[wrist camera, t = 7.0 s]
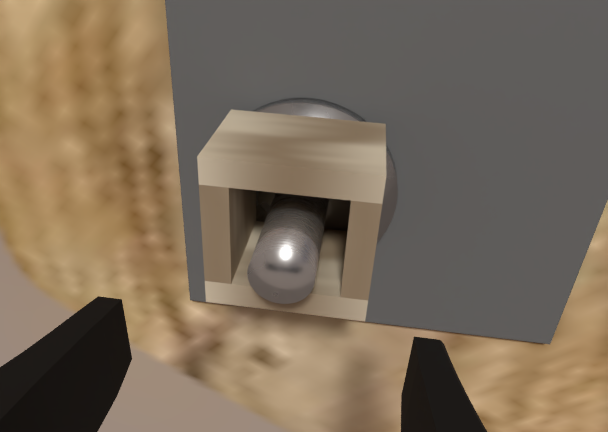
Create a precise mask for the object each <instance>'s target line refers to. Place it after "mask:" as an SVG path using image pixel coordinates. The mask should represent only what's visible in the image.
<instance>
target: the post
mask: <svg viewBox="0 0 608 432" xmlns="http://www.w3.org/2000/svg"><path fill="white" fill-rule="evenodd" d="M253 112H264V113H275V114H286V115H296V116H307V117H318V118H329V119H339V120H350V121H361V122H367V121H366V120H364V119H363V118H362V117H360V116H359V115H358V114H356V113H354V112H352V111H351V110H349V109H347V108H345V107H343V106H340V105H338V104H336V103H332V102H329V101H325V100H320V99H314V98H289V99H283V100H278V101H274V102H271V103H268V104H266V105H263V106H261V107H259V108H257V109H256V110H254V111H253ZM397 196H398V186H397V173H396V168H395V164H394V161H393V158H392V155H391V153H390V151H389V149H388V147H387V145H386V183H385V189H384V196H383V203H382V210H381V217H380V223H379V230H378V237H377V242H378V241H379V239H380V238H381V237H382V236H383V234H384V233H385V232H386V230H387V228H388V226H389V225H390V223H391V220H392V218H393V216H394V213H395V209H396V204H397ZM350 202H351V201H350V200H340V199H331V198H321V197H312V196H302V195H293V194H283V193H274V192H265V191H256V221H260V222H264V225H263V228H262V230H261V233H260V236H259V239H258V241H257V244H256V247H255V250H254V252H253V255H252V258H251V261H250V263H249V266H248V270H247V277H248V281H249V283H250V285H251V287H252V288H253V290H254V291H255V292H256V293H257V294H258V295H260V296H261V297H263V298H264V299H266V300H268V301H271V302H274V303H279V304H291V303H296V302H298V301H301V300H303V299H304V298H306V297H307V296H308V295H309V294H310V293H311V291H312V289H313V287H314V283H315V277H316V272H317V266H318V260H319V255H320V249H321V243H322V238H323V232H324V229H333V230H342V231H347V229H348V220H349V211H350Z"/></svg>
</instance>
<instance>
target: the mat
mask: <svg viewBox="0 0 608 432" xmlns="http://www.w3.org/2000/svg"><path fill="white" fill-rule="evenodd" d="M165 5H166V17H167V29H168V41H169V53H170V65H171V77H172V89H173V101H174V112H175V124H176V136H177V148H178V160H179V172H180V184H181V196H182V208H183V220H184V232H185V244H186V256H187V267H188V279H189V291H190V300H193V301H202V302H206V294H205V278H204V262H203V245H202V229H201V213H200V196H199V180H198V164H197V156H198V155H199V153H200V152H201V151H202V149H203V148H204V146H205V145H206V144H207V142H208V141H209V140H210V138H211V137H212V135H213V134H214V133H215V131H216V130H217V128H218V127H219V126H220V124H221V123H222V121H223V120H224V119H225V117H226V116H227V115H228V113H229V112H230V110H231V109H232V110H243V111H254V110H256V109H257V108H259V107H261V106H263V105H266V104H268V103H271V102H274V101H278V100H283V99H289V98H314V99H320V100H325V101H329V102H332V103H336V104H338V105H340V106H343V107H345V108H347V109H349V110H351V111H352V112H354V113H356V114H358V115H359V116H360V117H362V118H363V119H364V120H366V121H367V122H372V123H382V124H386V145H387V147H388V149H389V151H390V153H391V155H392V158H393V161H394V164H395V168H396V173H397V186H398V196H397V204H396V209H395V213H394V216H393V218H392V220H391V223H390V225H389V226H388V228H387V230H386V232H385V233H384V234H383V236H382V237H381V238H380V239H379V241H378V242H377V244H376V251H375V258H374V264H373V271H372V278H371V285H370V292H369V298H368V305H367V312H366V319H365V322H373V323H381V324H389V325H397V326H406V327H414V328H422V329H430V330H438V331H446V332H455V333H463V334H471V335H479V336H487V337H495V338H504V339H512V340H520V341H528V342H536V343H544V344H550V343H551V340H552V338H553V335H554V333H555V330H556V328H557V325H558V323H559V320H560V318H561V315H562V313H563V310H564V308H565V305H566V303H567V300H568V298H569V295H570V293H571V290H572V288H573V285H574V283H575V280H576V278H577V275H578V273H579V270H580V268H581V265H582V263H583V260H584V258H585V255H586V253H587V250H588V248H589V245H590V242H591V240H592V237H593V235H594V232H595V230H596V227H597V225H598V222H599V220H600V217H601V215H602V212H603V210H604V207H605V205H606V202H607V200H608V0H165ZM210 303H212V302H210ZM218 304H220V303H218ZM226 305H228V304H226ZM234 306H236V305H234ZM242 307H244V306H242ZM251 308H252V307H251ZM259 309H260V308H259ZM267 310H268V309H267ZM275 311H276V310H275ZM283 312H284V311H283ZM291 313H292V312H291ZM324 317H325V316H324ZM332 318H333V317H332ZM340 319H341V318H340ZM348 320H349V319H348Z"/></svg>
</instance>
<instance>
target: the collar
mask: <svg viewBox="0 0 608 432" xmlns="http://www.w3.org/2000/svg"><path fill="white" fill-rule="evenodd" d="M197 164H198V180H199V196H200V213H201V229H202V245H203V262H204V278H205V294H206V302H212V303H220V304H228V305H236V306H244V307H252V308H260V309H268V310H276V311H284V312H292V313H300V314H308V315H316V316H325V317H333V318H341V319H349V320H357V321H365V319H366V312H367V305H368V298H369V292H370V285H371V278H372V271H373V264H374V258H375V251H376V244H377V237H378V230H379V223H380V217H381V210H382V203H383V196H384V189H385V183H386V124H382V123H372V122H361V121H350V120H339V119H329V118H318V117H307V116H296V115H286V114H275V113H264V112H253V111H243V110H232V109H231V110H230V112H229V113H228V115H227V116H226V117H225V119H224V120H223V121H222V123H221V124H220V126H219V127H218V128H217V130H216V131H215V133H214V134H213V135H212V137H211V138H210V140H209V141H208V142H207V144H206V145H205V146H204V148H203V149H202V151H201V152H200V153H199V155H198V156H197ZM256 191H265V192H274V193H283V194H293V195H302V196H312V197H321V198H331V199H340V200H350V201H351V202H350V211H349V220H348V229H347V231H342V230H333V229H324V232H323V238H322V243H321V249H320V255H319V260H318V266H317V272H316V277H315V283H314V287H313V289H312V291H311V293H310V294H309V295H308V296H307V297H306V298H304V299H303V300H301V301H298V302H296V303H291V304H279V303H274V302H271V301H268V300H266V299H264V298H263V297H261V296H260V295H258V294H257V293H256V292H255V291H254V290H253V288H252V287H251V285H250V283H249V281H248V277H247V270H248V266H249V263H250V261H251V258H252V255H253V252H254V250H255V247H256V244H257V241H258V239H259V236H260V233H261V230H262V228H263V225H264V222H260V221H256Z"/></svg>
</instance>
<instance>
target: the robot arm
mask: <svg viewBox="0 0 608 432" xmlns="http://www.w3.org/2000/svg"><path fill="white" fill-rule="evenodd" d="M131 360H132V356H131V350H130V344H129V339H128V333H127V327H126V321H125V316H124V310H123V304H122V299H114V298H106V297H97V298H96V299H94V300H93V301H91V302H90V303H89V304H87V305H86V306H85V307H83V308H82V309H81V310H79V311H78V312H77V313H75V314H74V315H73V316H71V317H70V318H69V319H67V320H66V321H65V322H63V323H62V324H61V325H59V326H58V327H57V328H55V329H54V330H53V331H51V332H50V333H49V334H47V335H46V336H45V337H43V338H42V339H40V340H39V341H38V342H36V343H35V344H33V345H32V346H31V347H29V348H28V349H27V350H25V351H24V352H22V353H21V354H19V355H18V356H16V357H15V358H13V359H12V360H10V361H9V362H7V363H6V364H4V365H3V366H1V367H0V432H97V431H98V429H99V428H100V426H101V424H102V422H103V421H104V419H105V417H106V415H107V413H108V411H109V410H110V408H111V406H112V404H113V402H114V400H115V398H116V397H117V394H118V392H119V390H120V387H121V385H122V382H123V380H124V378H125V375H126V372H127V370H128V367H129V365H130V362H131ZM401 432H487V431H486V429H485V427H484V425H483V424H482V422H481V420H480V418H479V416H478V415H477V413H476V411H475V409H474V407H473V405H472V404H471V402H470V400H469V398H468V396H467V394H466V392H465V390H464V388H463V386H462V384H461V382H460V380H459V378H458V376H457V374H456V371H455V369H454V367H453V365H452V363H451V360H450V358H449V356H448V353H447V351H446V348H445V346H444V344H443V343H442V341H441V340H436V339H428V338H420V337H414V340H413V344H412V349H411V354H410V358H409V363H408V368H407V373H406V377H405V382H404V387H403V391H402V402H401Z"/></svg>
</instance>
